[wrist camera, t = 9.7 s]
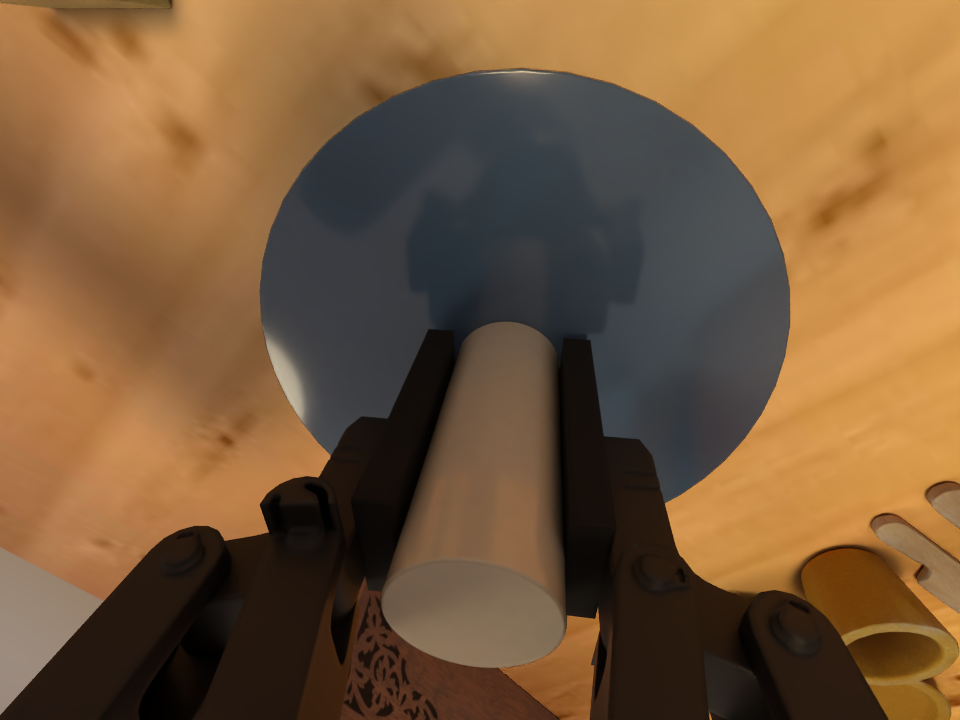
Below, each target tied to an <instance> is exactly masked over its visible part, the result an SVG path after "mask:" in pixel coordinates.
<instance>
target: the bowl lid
mask: <svg viewBox="0 0 960 720" xmlns="http://www.w3.org/2000/svg"><path fill="white" fill-rule="evenodd" d="M260 306H261V322H262V327H263V332H264V337H265V343H266V348H267V351H268V354H269V357H270V360H271V363H272V366H273V369H274V372H275V375H276V377H277V379H278V381H279V383H280V385H281V387H282V389H283V391H284V394H285V396H286V398H287V400H288V401H289V403H290V404H291V406H292V408H293V409H294V411H295V412H296V414H297V415H298V417H299V419H300V420H301V422H302V423H303V424H304V426H305V427H306V428H307V429H308V430H309V432H310V433H311V434H312V435H313V437H314V438H315V439H316V440H317V442H318V443H319V444H320V445H321V446H322V447H323V448H324V449H325V450H326V451H327V452H328V453H329V454H330V455H332V453H333V451H334V449H335V448H336V447H337V446H338V442H339V440H340V439H341V437H342V435H343V433H344V431H345V430H346V428H348V427H349V426H350V425H351V424H352V423H354V422H355V421H356V420H357V419H359V418H360V417H361V416H365V417H377V418H388V417H389V415H390V413H391V410H392V408H393V406H394V404H395V402H396V399H397V397H398V395H399V393H400V391H401V388H402V386H403V384H404V382H405V380H406V377H407V375H408V373H409V371H410V369H411V366H412V364H413V362H414V360H415V358H416V355H417V353H418V351H419V349H420V347H421V344H422V342H423V340H424V338H425V336H426V333H427V331H428V329H436V330H451V331H454V360H455V362H454V365H453V369H452V372H451V375H450V378H449V381H448V384H447V387H446V390H445V394H444V397H443V400H442V403H441V406H440V409H439V412H438V416H437V419H436V422H435V425H434V428H433V431H432V434H431V437H430V441H429V444H428V447H427V450H426V453H425V456H424V459H423V463H422V466H421V469H420V472H419V475H418V478H417V481H416V484H415V488H414V491H413V494H412V497H411V500H410V503H409V506H408V510H407V513H406V516H405V519H404V522H403V525H402V528H401V531H400V535H399V538H398V541H397V544H396V547H395V550H394V553H393V556H392V560H391V563H390V566H389V569H388V572H387V575H386V578H385V582H384V585H383V588H382V591H381V597H380V598H381V608H382V612H383V615H384V617H385V619H386V621H387V622H388V624H389V625H390V627H391V628H392V629H393V630H394V631H395V632H396V633H397V634H398V635H399V636H400V637H401V638H402V639H404V640H405V641H406V642H408V643H409V644H411V645H412V646H414V647H416V648H417V649H419V650H421V651H423V652H425V653H427V654H429V655H432V656H434V657H437V658H439V659H442V660H446V661H449V662H453V663H457V664H461V665H467V666H473V667H482V668H505V667H514V666H519V665H524V664H527V663H531V662H534V661H536V660H539V659H541V658H543V657H545V656H546V655H548V654H550V653H551V652H552V651H553V650H555V649H556V648H557V646H558V645H559V644H560V643H561V641H562V639H563V638H564V635H565V632H566V629H567V595H566V565H565V536H564V501H563V465H562V430H561V395H560V365H561V357H562V348H563V339H564V338H568V339H583V340H590V341H591V348H592V355H593V362H594V369H595V376H596V384H597V391H598V398H599V405H600V412H601V419H602V427H603V434H604V436H608V437H619V438H630V439H640V441H641V442H642V443H643V444H644V446H645V447H646V448H647V449H648V451H649V452H650V453H651V454H652V456H653V460H654V464H655V468H656V472H657V476H658V479H659V483H660V491H662V495H663V499H664V503H666V502H668V501H670V500H672V499H674V498H675V497H677V496H679V495H681V494H682V493H684V492H685V491H687V490H688V489H690V488H691V487H693V486H694V485H696V484H697V483H698V482H700V481H701V480H703V479H704V478H705V477H706V476H708V475H709V474H710V473H711V472H712V471H713V470H715V469H716V468H717V467H718V466H719V465H720V464H721V463H723V462H724V461H725V460H726V459H727V458H728V457H729V455H730V454H731V453H732V452H733V451H734V450H735V449H736V448H737V447H738V445H739V444H740V443H741V442H742V441H743V440H744V439H745V437H746V436H747V435H748V433H749V432H750V430H751V429H752V427H753V426H754V424H755V423H756V421H757V420H758V418H759V417H760V416H761V414H762V412H763V410H764V408H765V406H766V404H767V402H768V400H769V398H770V396H771V394H772V392H773V390H774V388H775V386H776V383H777V380H778V377H779V374H780V371H781V367H782V364H783V361H784V358H785V354H786V347H787V341H788V335H789V328H790V286H789V281H788V275H787V270H786V264H785V258H784V253H783V251H782V248H781V245H780V242H779V240H778V237H777V234H776V231H775V229H774V226H773V223H772V220H771V218H770V216H769V215H768V213H767V211H766V209H765V208H764V206H763V204H762V202H761V200H760V199H759V197H758V195H757V193H756V192H755V190H754V188H753V186H752V185H751V184H750V182H749V181H748V180H747V179H746V177H745V176H744V175H743V174H742V173H741V171H740V170H739V169H738V168H737V166H736V165H735V164H734V163H733V162H732V160H731V159H730V158H729V157H728V155H727V154H726V153H725V152H724V151H723V150H721V149H720V148H719V147H718V146H717V145H716V144H715V143H713V142H712V141H711V140H710V139H709V138H708V137H707V136H705V135H704V134H703V133H702V132H701V131H700V130H699V129H697V128H696V127H695V126H694V125H693V124H691V123H690V122H688V121H686V120H685V119H683V118H682V117H680V116H678V115H677V114H675V113H674V112H672V111H670V110H669V109H667V108H665V107H664V106H662V105H661V104H659V103H657V102H656V101H654V100H651V99H649V98H647V97H644V96H642V95H640V94H637V93H635V92H632V91H630V90H628V89H625V88H623V87H621V86H618V85H616V84H613V83H611V82H607V81H603V80H599V79H595V78H591V77H586V76H582V75H578V74H574V73H570V72H565V71H554V70H542V69H531V68H511V69H495V70H480V71H473V72H469V73H464V74H460V75H455V76H451V77H446V78H442V79H437V80H433V81H430V82H427V83H425V84H422V85H420V86H417V87H414V88H412V89H409V90H407V91H404V92H402V93H399V94H397V95H394V96H392V97H390V98H388V99H387V100H385V101H383V102H381V103H380V104H378V105H376V106H375V107H373V108H371V109H369V110H368V111H366V112H364V113H363V114H361V115H359V116H357V117H356V118H355V119H354V120H352V121H351V122H350V123H349V124H347V125H346V126H345V127H344V128H343V129H341V130H340V131H339V132H338V133H337V134H335V135H334V136H333V137H332V138H330V139H329V140H328V141H327V142H326V143H325V144H324V145H323V146H322V147H321V149H320V150H319V151H318V152H317V153H316V154H315V155H314V156H313V158H312V159H311V160H310V161H309V162H308V163H307V164H306V166H305V167H304V168H303V169H302V170H301V172H300V174H299V175H298V177H297V178H296V180H295V181H294V183H293V185H292V186H291V188H290V189H289V191H288V193H287V194H286V196H285V197H284V199H283V201H282V204H281V206H280V208H279V211H278V213H277V215H276V218H275V220H274V222H273V225H272V227H271V229H270V233H269V237H268V241H267V245H266V249H265V253H264V257H263V262H262V273H261V283H260Z"/></svg>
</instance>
